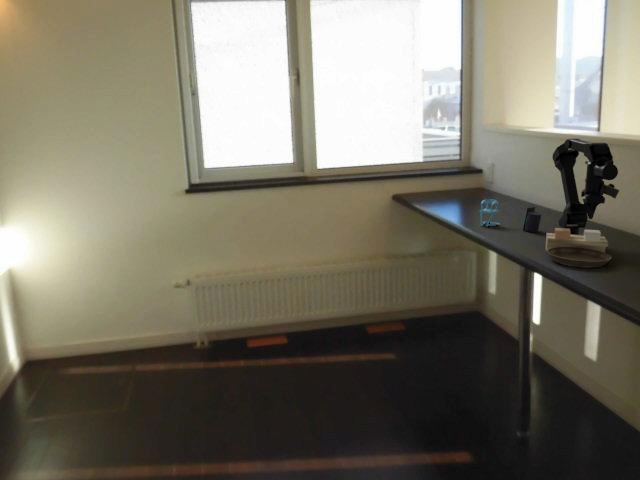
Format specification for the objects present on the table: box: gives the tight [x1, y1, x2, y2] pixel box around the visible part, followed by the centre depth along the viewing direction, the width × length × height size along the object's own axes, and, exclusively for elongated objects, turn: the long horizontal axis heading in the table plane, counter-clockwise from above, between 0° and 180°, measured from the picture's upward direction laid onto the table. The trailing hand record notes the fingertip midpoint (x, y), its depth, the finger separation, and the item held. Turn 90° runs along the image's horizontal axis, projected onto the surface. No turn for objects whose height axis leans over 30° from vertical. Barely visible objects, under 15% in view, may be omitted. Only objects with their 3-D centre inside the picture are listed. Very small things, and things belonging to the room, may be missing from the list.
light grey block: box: [583, 228, 602, 241], centre depth 215 cm, size 5×5×3 cm
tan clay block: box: [554, 227, 571, 239], centre depth 218 cm, size 5×5×3 cm
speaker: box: [522, 206, 542, 233], centre depth 258 cm, size 8×6×10 cm
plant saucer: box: [546, 247, 612, 269], centre depth 207 cm, size 21×21×3 cm
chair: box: [478, 198, 501, 228], centre depth 271 cm, size 8×8×12 cm
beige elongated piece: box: [545, 232, 609, 253], centre depth 219 cm, size 11×20×6 cm, turn 72°
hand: (590, 218), depth 222 cm, fingers closed
